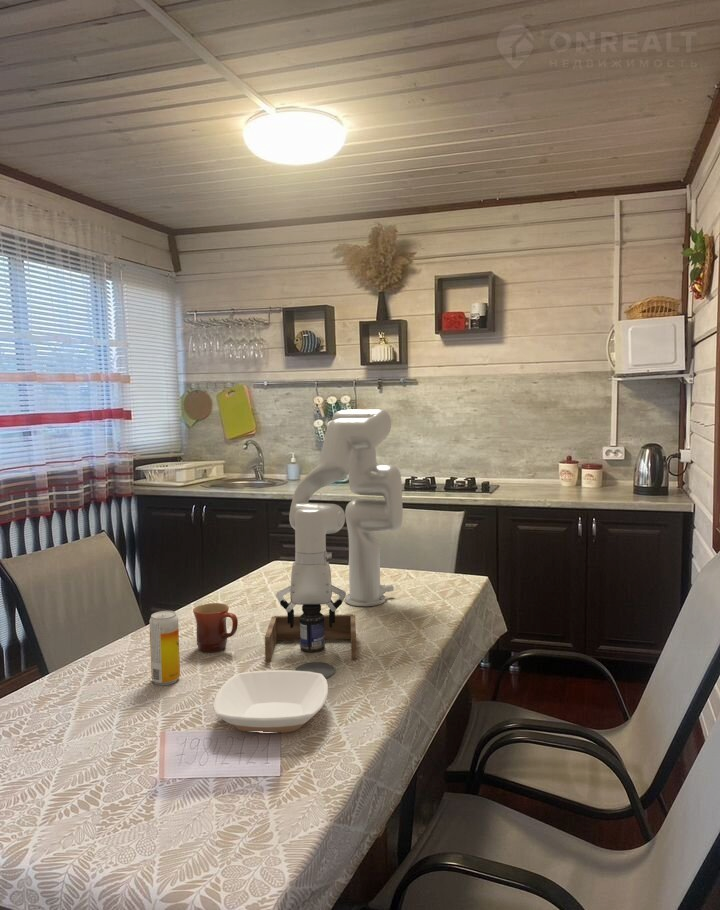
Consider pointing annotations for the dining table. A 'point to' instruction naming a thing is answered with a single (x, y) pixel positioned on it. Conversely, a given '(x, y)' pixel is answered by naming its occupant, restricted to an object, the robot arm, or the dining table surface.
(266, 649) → the u-shaped wooden arch
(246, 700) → the bowl
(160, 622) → the beer can
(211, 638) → the mug
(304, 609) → the pill bottle
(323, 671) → the slate coaster
